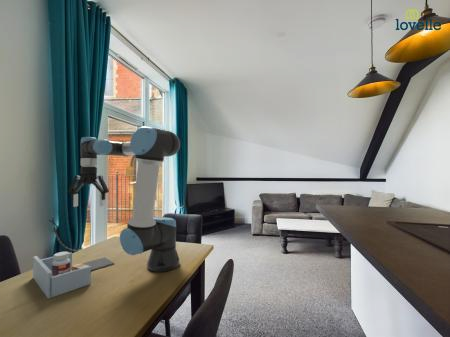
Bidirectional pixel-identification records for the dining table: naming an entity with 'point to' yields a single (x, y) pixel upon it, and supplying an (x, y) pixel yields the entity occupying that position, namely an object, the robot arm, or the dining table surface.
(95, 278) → the dining table surface
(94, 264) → the mat
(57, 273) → the pill bottle
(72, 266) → the offcut top
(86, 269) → the open box
